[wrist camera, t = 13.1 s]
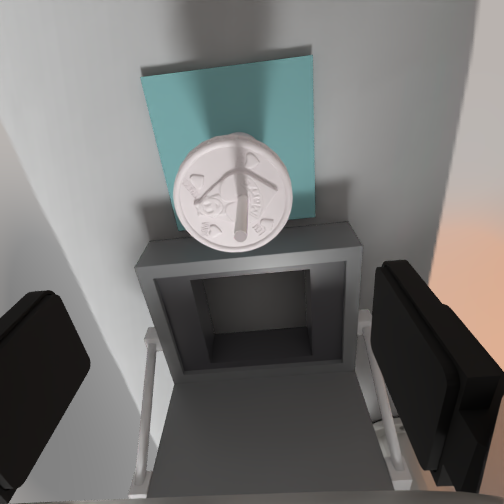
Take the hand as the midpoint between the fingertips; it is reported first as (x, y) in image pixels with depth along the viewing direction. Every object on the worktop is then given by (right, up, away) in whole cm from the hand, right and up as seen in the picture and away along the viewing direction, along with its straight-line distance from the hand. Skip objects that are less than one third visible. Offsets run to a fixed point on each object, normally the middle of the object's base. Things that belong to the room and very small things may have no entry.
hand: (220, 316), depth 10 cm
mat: (0, +10, +16) cm, 19 cm away
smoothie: (0, +9, +16) cm, 19 cm away
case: (+1, -2, +23) cm, 23 cm away
